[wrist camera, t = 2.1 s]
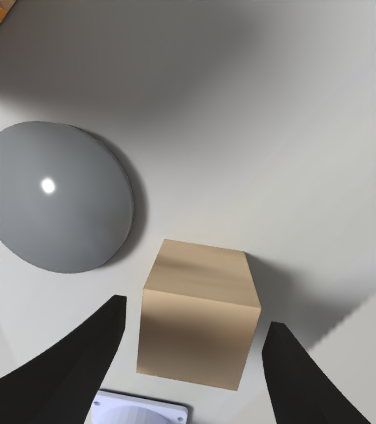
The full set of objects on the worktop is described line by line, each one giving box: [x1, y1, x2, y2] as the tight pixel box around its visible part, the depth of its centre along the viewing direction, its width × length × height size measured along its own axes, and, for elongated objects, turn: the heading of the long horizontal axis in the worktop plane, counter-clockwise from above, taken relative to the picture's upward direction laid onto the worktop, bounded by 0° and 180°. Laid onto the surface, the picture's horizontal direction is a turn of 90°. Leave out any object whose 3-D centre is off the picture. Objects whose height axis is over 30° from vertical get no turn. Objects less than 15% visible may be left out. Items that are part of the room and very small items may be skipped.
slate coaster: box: [0, 121, 134, 273], centre depth 14 cm, size 9×9×1 cm
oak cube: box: [136, 239, 261, 391], centre depth 13 cm, size 5×5×5 cm
